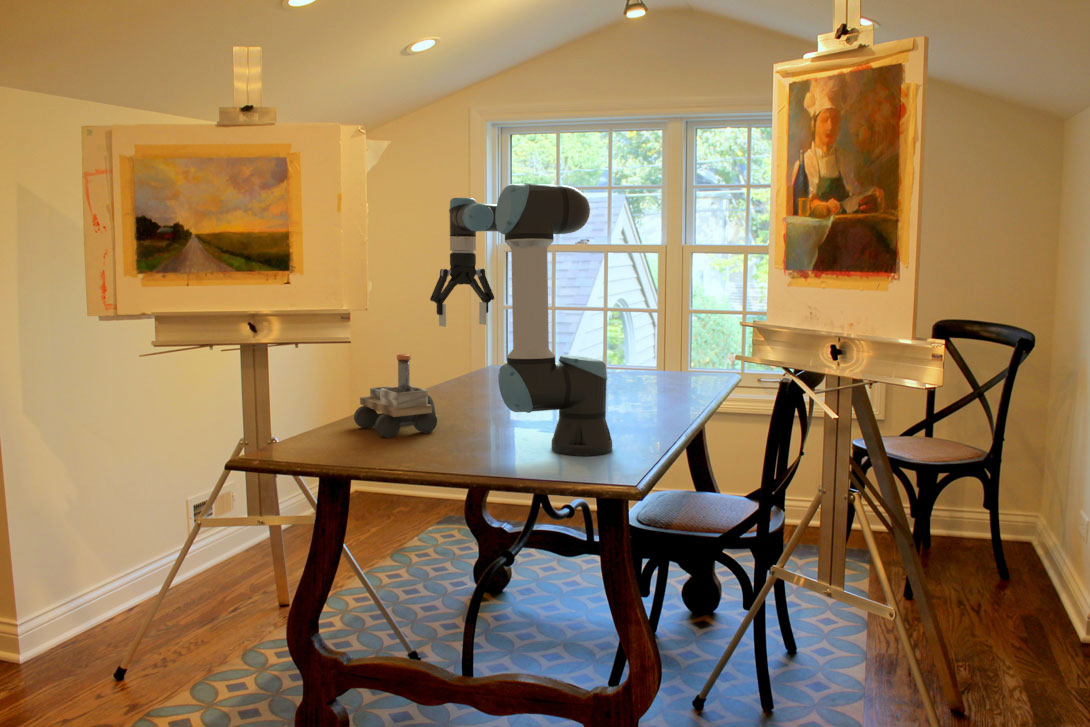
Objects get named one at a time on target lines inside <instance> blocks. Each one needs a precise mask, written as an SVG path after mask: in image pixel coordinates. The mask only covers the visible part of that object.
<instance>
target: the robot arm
mask: <svg viewBox="0 0 1090 727" xmlns="http://www.w3.org/2000/svg"><path fill="white" fill-rule="evenodd" d="M448 212H449V251H451V253H449V265H450V268H449V269H447V268H441V269H439V270H440V271H439V277H438V280H437V282H436V284H435V286H434V289H433V291H432V294H431V296H430V299H429V300H430V301H431V302H433V303H435V304H436V315H437V316H438V326H439V327H444V328H445V327H447V304H446V303H445V301H446V300H447V298H448V296H450V294H451V292H452V291H453V290H454V289H455V287H456V286H458V285H469V286H470V287H471V289H473V291H474V292H475V294H476V295H477V297H479V299H480V300H481V301H479V303H478V305H479V307H478V308H479V310H478V312H479V313H478V314H479V316H478V320H479V321H478V322H479V324H478V325H487V314H488V313H489V303H491V301H493V300H495V295H494V293H493V291H492V289H491V286H490V284H489V281H488V279H487V276H486V269H485V268H478V269H477V268H476V264H477V254H476V252H475V251H477V243H476V242H477V234H476V233H477V232H498V233H500V234H501V235H504V243H505V244H507V246H508V247H509V248H510V250H511V298H512V300H511V302H512V303H511V307H512V350H511V351H510V352H509V353H508V355H507V356H506V363H504V364H503V365H501V366H500V367H499V370H498V378H497V379H498V388H499V392H500V396H501V398H502V401H503V403H504V404H505V406H506V407H507V408H508V410H510V411H511V412H514V413H527V414H528V413H529V414H531V413H533V412H544V411H545V412H546V411H558V420H557V423H556V426H555V430H554V432H553V436H552V438H551V450H552V451H553V452H556V453H558V454H563V455H569V456H579V457H580V456H583V457H585V456H586V457H589V456H599V455H604V454H608V453H611V452H612V450H613V440H612V437H611V433H610V429H609V426H608V423H607V418H606V417H607V416H606V415H607V382H608V381H607V380H608V376H607V365H606V363H605V362H604V361H603V360H601V359H596V358H592V357H584V356H577V355H566V354H565V355H564V354H563V355H560V356H559V358H558V361H556V355H555V354H554V353H553V351H551V349H550V345H549V344H550V342H549V338H550V337H549V336H550V335H549V333H550V332H549V281H548V280H549V279H548V278H549V277H548V276H549V273H548V270H549V268H548V263H549V262H548V249H549V247H550V246H551V244H553V243H554V242H555V241H554V238H555V237H554V235H567V234H571V233H572V234H573V233H576V232H578V231H579V230H580V229H583V227H584V226H585V225H586V223H587V222H589V221H588V220H589V218H590V213H591V208H590V203H589V200H588V199H587V197H586V196H585V194H584V193H583V192H581V191H580V190H578V189H577V188H575V187H573V186H569V185H562V184H558V185H557V184H541V183H526V182H524V183H511V184H508V185H506V186H505V187H504V188H503V189H502V191H501V193H500V194H499V197H498V199H497V202H496V204H495V203H494V204H493V203H480V202H476V199H475V198H473V197H452V198H451V199H450V201H449V209H448ZM449 276H450V279H449V280H448V277H449ZM475 276H477V278H478V280H479V283H478V280H476V278H475ZM447 280H448V282H447ZM446 282H447V284H446ZM445 284H446V285H445ZM479 284H480V285H479Z"/></svg>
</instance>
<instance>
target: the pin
mask: <svg viewBox="0 0 1090 727" xmlns="http://www.w3.org/2000/svg"><path fill="white" fill-rule="evenodd" d="M411 358H412V357H411V354H408V353H406V354H403V353H402V354H396V361H397V374H398V375H397V387H398V393H401V392H410V386H411V383H410V377H411V376H410V373H411V372H410V370H411V369H410V360H412V359H411Z"/></svg>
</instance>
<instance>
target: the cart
mask: <svg viewBox="0 0 1090 727" xmlns="http://www.w3.org/2000/svg"><path fill="white" fill-rule="evenodd" d="M369 389H370V390H369V394H370V395H369V396H360V397H359V405H361V406H360V407H357V408H356V410H355V412H354V414H353V420H354V422H355V424H356V425H357V426H358V427H360V428H363V429H371V428H373V427H375V431H376V433H377V434H378V435H379V436H381V437H383V438H386V439H391V438H393V437H395V436H396V435H397V434H398V433H399V431H400V429H401V427H407V426H409V427H410V426H413V427H414V429H415V430H416V431H418V432H421V433H423V434H428V433H429V434H430V433H432V432H433V431H434V430H435V429H436V427H437V425H438V418H437V415H435V414H434V413H433V412H432V405H429V404H428V395H429V394H428V391H429V390H427V389H425V388H421V387H417V386H414V385H410V392H401V393H398V386H389V385H387V386H379V387H370V388H369ZM378 412H380V413H378ZM414 415H415V416H414ZM413 416H414V419H413ZM412 419H413V421H411V420H412Z"/></svg>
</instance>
